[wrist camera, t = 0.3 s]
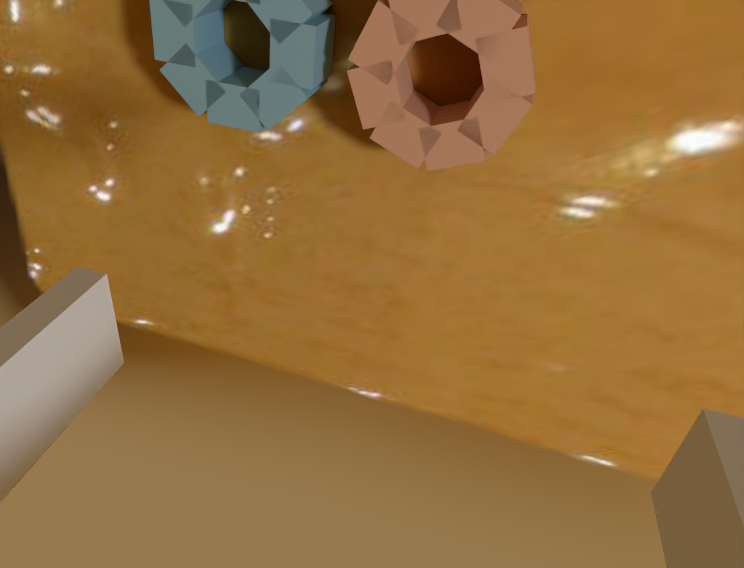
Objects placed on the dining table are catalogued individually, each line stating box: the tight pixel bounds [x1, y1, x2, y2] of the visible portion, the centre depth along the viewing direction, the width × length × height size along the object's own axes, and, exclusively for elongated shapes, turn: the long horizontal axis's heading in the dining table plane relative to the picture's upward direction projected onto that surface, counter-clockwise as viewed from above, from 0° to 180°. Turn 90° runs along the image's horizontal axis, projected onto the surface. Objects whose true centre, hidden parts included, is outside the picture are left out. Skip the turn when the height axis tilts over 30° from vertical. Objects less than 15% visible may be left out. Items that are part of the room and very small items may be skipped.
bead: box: [149, 0, 336, 133], centre depth 34 cm, size 10×10×4 cm
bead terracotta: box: [347, 0, 536, 171], centre depth 33 cm, size 10×10×4 cm
